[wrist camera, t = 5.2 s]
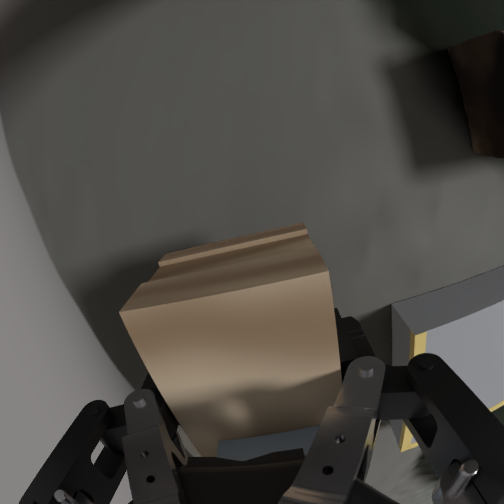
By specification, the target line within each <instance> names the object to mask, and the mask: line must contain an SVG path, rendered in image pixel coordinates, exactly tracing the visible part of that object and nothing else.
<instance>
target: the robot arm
mask: <svg viewBox="0 0 504 504" xmlns="http://www.w3.org/2000/svg"><path fill="white" fill-rule="evenodd" d="M334 313H335V321H336V329H337V338H338V347H339V356H340V366H341V377H342V386H341V388H340V391H339V394H338V396H337V399H336V402H335V404H334V406H329V407H328V408H327V410H326V413H325V415H324V417H323V420H322V422H321V425H320V427H319V429H318V431H317V434H316V436H315V438H314V440H313V443H312V445H311V447H310V449H309V451H308V453H307V455H305V454H304V450H303V448H298V449H292V450H285V451H278V452H272V453H269V454H266V455H263V456H259V457H256V458H253V459H249V460H246V461H237V460H231V459H225V458H219V457H187V454H186V451H185V449H184V446H183V443H182V440H181V438H180V435H179V433H178V432H177V427H178V425H180V424H179V422H178V421H177V419H176V418H175V416H174V414H173V413H172V411H171V409H170V408H169V406H168V405H167V403H166V401H165V400H164V398H163V396H162V395H161V393H160V391H159V389H158V388H157V386H156V384H155V382H154V381H153V379H152V377H151V375H150V373H149V372H148V375H147V377H146V379H145V381H144V384H143V386H142V388H141V389H139V390H136V391H134V392H132V393H131V394H130V395H128V396H127V398H126V399H125V402H124V404H123V405H119V406H115V407H111V408H109V406H108V405H107V403H106V402H105V401H103V400H95V401H92V402H90V403H88V404H87V405H86V406H85V407H84V408H83V409H82V411H81V412H80V413H79V415H78V416H77V418H76V419H75V420H74V422H73V423H72V425H71V426H70V427H69V429H68V430H67V432H66V433H65V435H64V436H63V437H62V439H61V440H60V441H59V443H58V444H57V446H56V447H55V449H54V450H53V452H52V453H51V455H50V456H49V458H48V459H47V460H46V462H45V463H44V465H43V466H42V468H41V469H40V471H39V472H38V474H37V475H36V477H35V478H34V480H33V481H32V483H31V484H30V486H29V487H28V489H27V490H26V492H25V493H24V495H23V497H22V498H21V500H20V502H19V504H110V502H111V500H112V498H113V496H114V494H115V492H116V490H117V488H118V486H119V484H120V482H121V480H122V478H123V476H124V474H125V472H126V470H127V474H128V479H129V484H130V489H131V494H132V499H133V500H132V501H131V502H129V503H128V504H399V503H397V502H396V501H394V500H392V499H391V498H389V497H387V496H386V495H384V494H382V493H381V492H379V491H378V490H376V489H374V488H373V487H371V486H370V485H368V484H367V483H365V479H366V476H367V473H368V469H369V466H370V461H371V457H372V453H373V449H374V446H375V442H376V438H377V434H378V431H379V427H380V423H381V420H395V419H403V421H404V423H405V424H406V426H407V428H408V429H409V431H410V432H411V434H412V435H413V437H414V439H415V440H416V442H417V443H418V445H419V447H420V448H421V450H422V451H423V453H424V455H425V456H426V458H427V460H428V461H429V463H430V464H431V466H432V468H433V469H434V471H435V473H436V474H437V476H438V478H439V481H438V483H437V484H436V486H435V488H434V490H433V493H432V501H433V504H504V426H503V425H502V424H501V423H500V422H499V420H498V419H497V418H496V417H495V416H494V415H493V413H492V412H491V411H490V410H489V409H488V408H487V407H486V406H485V404H484V403H483V402H482V401H481V400H480V399H479V398H478V397H477V396H476V395H475V393H474V392H473V391H472V390H471V389H470V388H469V387H468V386H467V385H466V384H465V383H464V381H463V380H462V379H461V378H460V377H459V376H458V375H457V374H456V373H455V372H454V371H453V370H452V369H451V368H450V367H449V366H448V365H447V364H446V362H445V361H444V360H443V359H442V358H441V357H439V356H438V355H436V354H432V353H422V354H418V355H416V356H414V357H413V358H412V359H411V360H410V361H409V363H408V365H407V366H389V365H385V364H384V362H383V361H382V360H381V359H379V358H377V357H375V354H374V352H373V350H372V348H371V346H370V344H369V342H368V340H367V338H366V336H365V334H364V332H363V330H362V328H361V326H360V324H359V322H358V321H357V320H356V319H354V318H353V317H351V316H349V317H345V318H341V316H340V314H339V311H338V309H337V308H335V309H334ZM99 441H101V442H102V444H103V445H104V448H103V450H102V451H101V453H100V455H99V456H98V458H97V460H96V461H95V463H94V465H93V464H92V462H91V454H92V452H93V450H94V449H95V447H96V446H97V444H98V442H99Z"/></svg>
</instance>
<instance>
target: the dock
mask: <svg viewBox="0 0 504 504" xmlns="http://www.w3.org/2000/svg"><path fill="white" fill-rule="evenodd" d="M391 307H392V366H407V365H408V363H409V361H410V360H411V359H412V358H413V357H414V356H416V355H418V354H422V353H432V354H436V355H438V356H439V357H441V358H442V359H443V360H444V361H445V362H446V364H447V365H448V366H449V367H450V368H451V369H452V370H453V371H454V372H455V373H456V374H457V375H458V376H459V377H460V378H461V379H462V380H463V381H464V383H465V384H466V385H467V386H468V387H469V388H470V389H471V390H472V391H473V392H474V393H475V395H476V396H477V397H478V398H479V399H480V400H481V401H482V402H483V403H484V404H485V406H486V407H487V408H488V409H489V410H490V411H491V412H492V411H494V410H496V409H497V408H499V407H501V406H503V405H504V266H502V267H499V268H497V269H494V270H492V271H489V272H486V273H484V274H481V275H478V276H475V277H473V278H470V279H467V280H464V281H461V282H459V283H456V284H453V285H450V286H447V287H444V288H441V289H438V290H435V291H432V292H429V293H426V294H422V295H419V296H416V297H413V298H409V299H406V300H403V301H399V302H396V303H393V304H391ZM389 422H390V424H391V427H392V430H393V432H394V435H395V437H396V440H397V443H398V445H399V448H400V451H401V452H403V451H406V450H408V449H411V448H414V447H417V446H419V445H418V443H417V442H416V440H415V439H414V437H413V435H412V434H411V432H410V431H409V429H408V428H407V426H406V424H405V423H404V421H403V419H395V420H389Z"/></svg>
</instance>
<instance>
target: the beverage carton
mask: <svg viewBox="0 0 504 504" xmlns="http://www.w3.org/2000/svg"><path fill="white" fill-rule="evenodd" d="M448 53H449V55H450V58H451V61H452V65H453V68H454V70H455V73H456V76H457V79H458V83H459V87H460V90H461V94H462V97H463V104H464V108H465V111H466V115H467V119H468V125H469V130H470V134H471V141H472V148H473V151H474V152H476V153H478V154H481V155H486V156H493V157H497V158H504V31H501V30H497V31H494V32H491V33H487V34H484V35H481V36H478V37H477V38H473V39H470V40H468V41H465V42H463V43H460V44H457V45H455V46H452V47H450V48H448Z"/></svg>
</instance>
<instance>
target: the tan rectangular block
mask: <svg viewBox="0 0 504 504" xmlns="http://www.w3.org/2000/svg"><path fill="white" fill-rule="evenodd" d="M158 263H159V266H160V267H159V268H158V270H157V271H156V272H155V274H154V275H153V276H152V278H151V279H150V280H149V281H148V282H145V283H141V284H140V286H139V287H138V288H137V289H136V291H135V292H134V293H133V294H132V296H131V297H130V298H129V300H128V301H127V302H126V303H125V305H124V306H123V307H122V309H121V310H120V311H119V314H120V316H121V318H122V320H123V322H124V324H125V327H126V329H127V331H128V333H129V335H130V337H131V339H132V341H133V343H134V345H135V347H136V349H137V351H138V353H139V355H140V357H141V359H142V360H143V362H144V364H145V366H146V368H147V370H148V372H149V373H150V375H151V377H152V379H153V381H154V382H155V384H156V386H157V388H158V389H159V391H160V393H161V395H162V396H163V398H164V400H165V401H166V403H167V405H168V406H169V408H170V409H171V411H172V413H173V414H174V416H175V418H176V419H177V421H178V422H179V424H180V425H181V427H182V428H183V430H184V431H185V433H186V434H187V436H188V437H189V439H190V440H191V442H192V443H193V445H194V446H195V448H196V449H197V451H198V452H199V453H200V455H201V456H202V457H216V456H217V449H218V441H224V440H234V439H242V438H250V437H257V436H264V435H271V434H277V433H282V432H288V431H293V430H298V429H303V428H308V427H312V426H317V425H321V422H322V420H323V417H324V415H325V413H326V410H327V408H328V407H329V406H334V404H335V402H336V399H337V396H338V394H339V391H340V388H341V386H342V377H341V366H340V356H339V347H338V338H337V329H336V321H335V313H334V305H333V298H332V290H331V283H330V277H329V271H328V269H327V267H326V265H325V263H324V261H323V259H322V257H321V255H320V253H319V251H318V249H317V247H316V246H314V245H313V243H312V241H311V240H310V238H309V236H308V233H307V229H306V227H305V225H304V223H298V224H294V225H289V226H285V227H280V228H276V229H271V230H267V231H262V232H258V233H253V234H249V235H244V236H240V237H236V238H231V239H227V240H222V241H218V242H214V243H209V244H205V245H201V246H196V247H192V248H188V249H184V250H179V251H175V252H171V253H167V254H165V255H164V256H163V257H162V258H161V260H160V261H159V262H158Z"/></svg>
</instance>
